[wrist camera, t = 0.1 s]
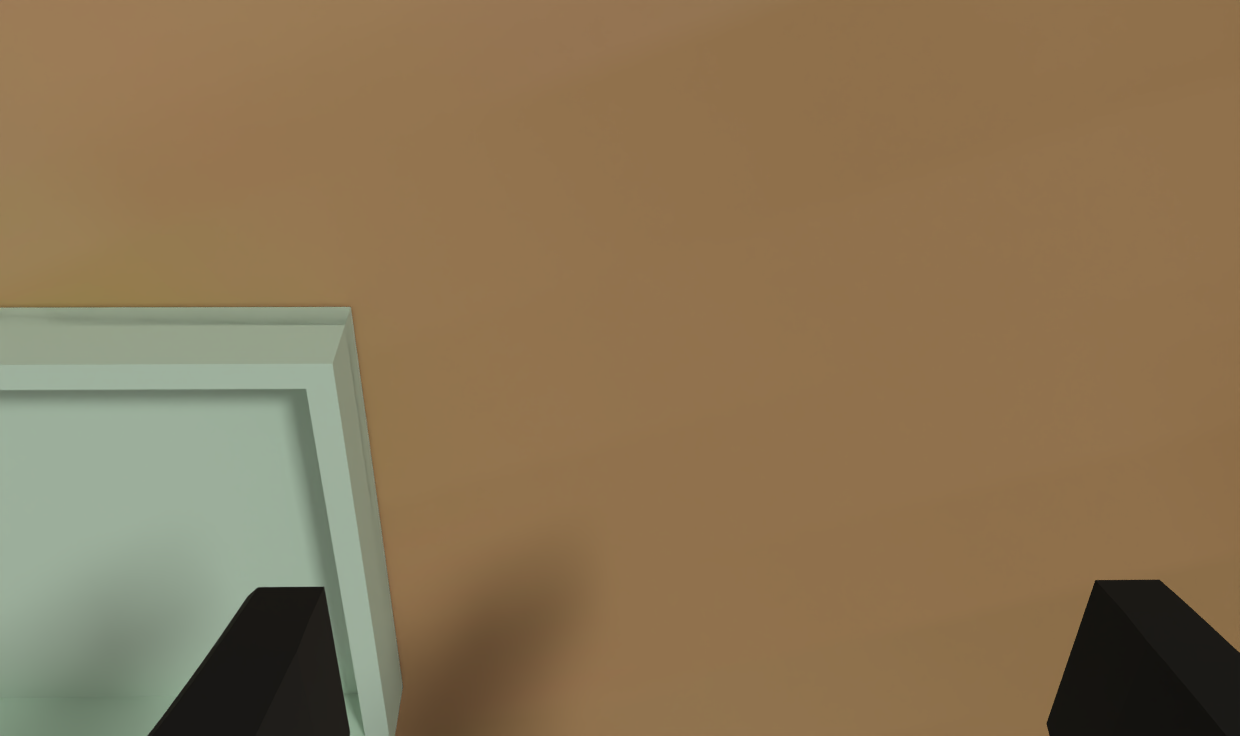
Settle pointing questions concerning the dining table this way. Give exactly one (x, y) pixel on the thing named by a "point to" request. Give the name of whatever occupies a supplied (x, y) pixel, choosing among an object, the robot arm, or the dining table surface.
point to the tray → (179, 505)
